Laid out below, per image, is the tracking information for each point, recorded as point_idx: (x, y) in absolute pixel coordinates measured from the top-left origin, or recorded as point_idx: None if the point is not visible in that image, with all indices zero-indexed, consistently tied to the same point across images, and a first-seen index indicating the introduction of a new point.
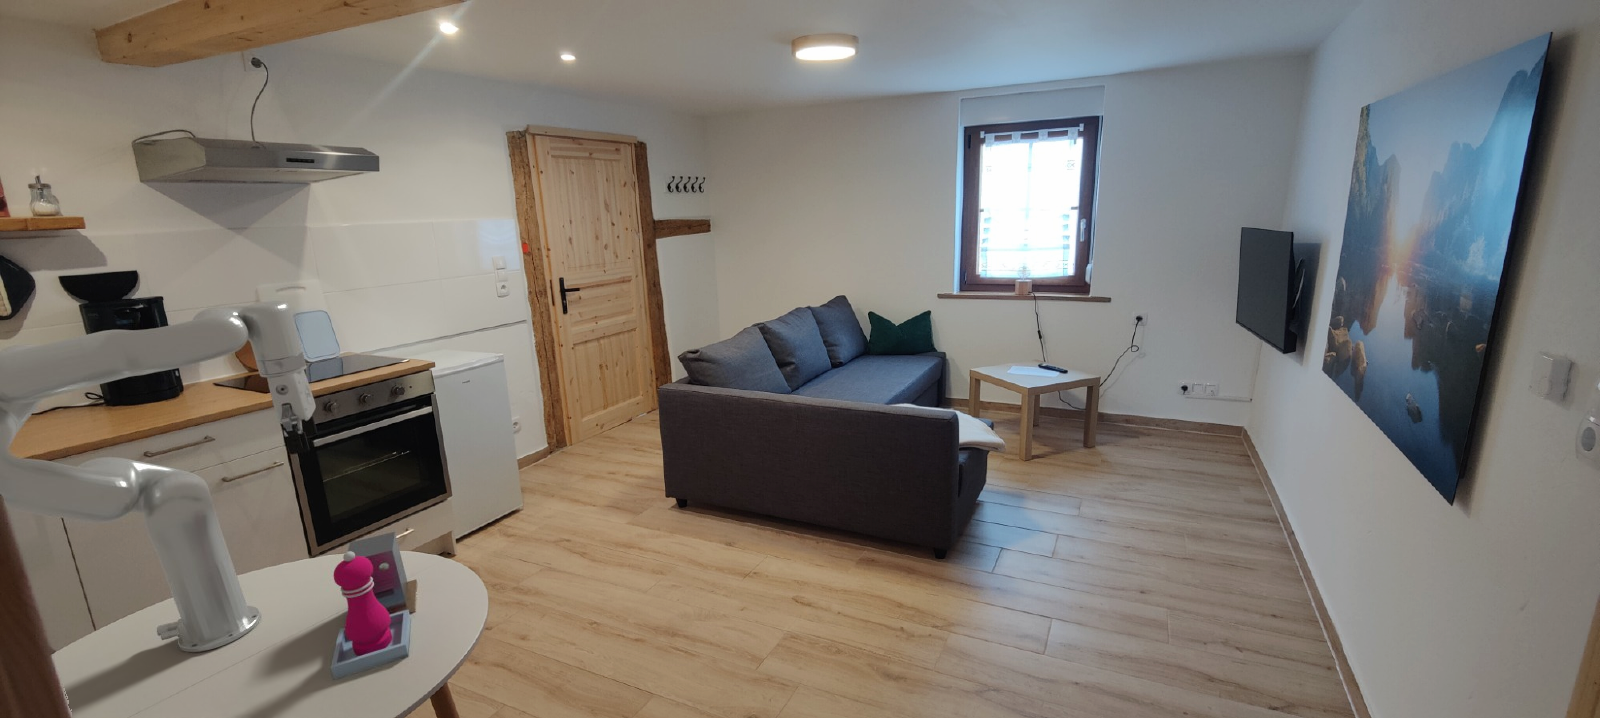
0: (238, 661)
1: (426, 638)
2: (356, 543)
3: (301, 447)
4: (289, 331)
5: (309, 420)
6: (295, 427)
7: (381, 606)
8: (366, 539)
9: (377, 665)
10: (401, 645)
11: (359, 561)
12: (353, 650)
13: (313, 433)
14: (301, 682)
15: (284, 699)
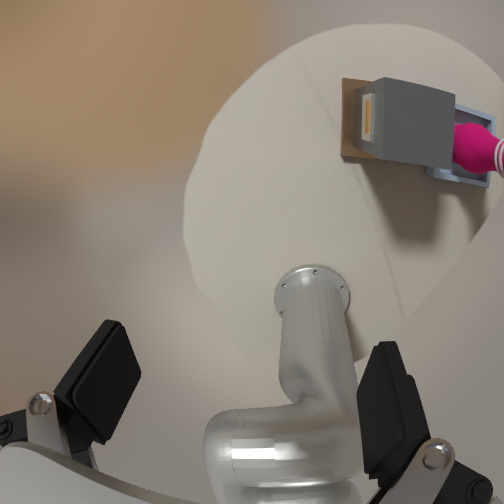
0: (389, 271)
1: (469, 93)
2: (393, 148)
3: (412, 380)
4: None
5: (86, 398)
6: (486, 485)
7: (487, 131)
8: (388, 129)
9: None
10: (494, 121)
11: None
12: (456, 164)
13: (122, 337)
14: (465, 211)
15: (476, 224)
